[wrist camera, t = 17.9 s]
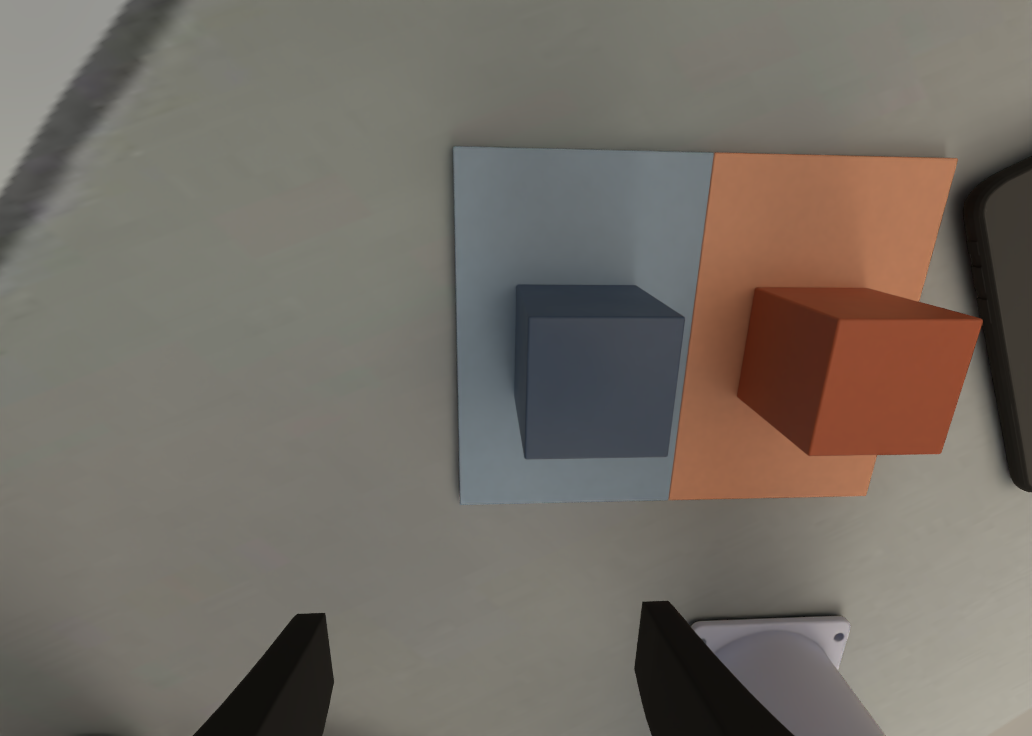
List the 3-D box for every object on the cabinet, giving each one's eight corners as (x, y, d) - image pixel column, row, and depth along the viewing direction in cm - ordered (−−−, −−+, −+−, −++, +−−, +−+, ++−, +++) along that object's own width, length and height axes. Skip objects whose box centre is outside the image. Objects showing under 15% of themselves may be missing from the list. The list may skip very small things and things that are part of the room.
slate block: (626, 396, 21) (668, 458, 16) (513, 397, 21) (524, 460, 16) (636, 284, 20) (686, 316, 15) (516, 284, 19) (527, 316, 15)
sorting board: (858, 490, 24) (866, 496, 23) (460, 498, 23) (460, 505, 22) (947, 158, 19) (959, 158, 19) (453, 146, 18) (453, 145, 18)
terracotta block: (841, 396, 22) (941, 455, 17) (735, 397, 21) (808, 457, 17) (867, 287, 20) (985, 318, 16) (754, 286, 20) (839, 318, 15)
